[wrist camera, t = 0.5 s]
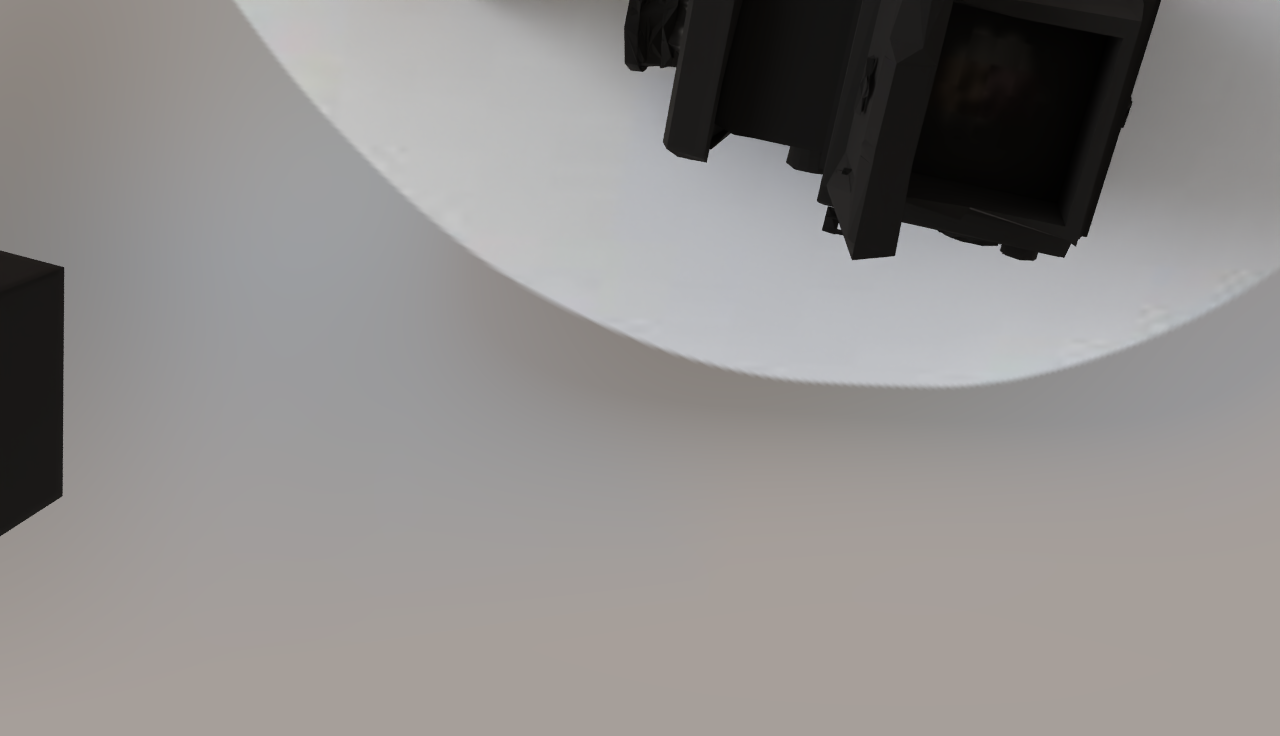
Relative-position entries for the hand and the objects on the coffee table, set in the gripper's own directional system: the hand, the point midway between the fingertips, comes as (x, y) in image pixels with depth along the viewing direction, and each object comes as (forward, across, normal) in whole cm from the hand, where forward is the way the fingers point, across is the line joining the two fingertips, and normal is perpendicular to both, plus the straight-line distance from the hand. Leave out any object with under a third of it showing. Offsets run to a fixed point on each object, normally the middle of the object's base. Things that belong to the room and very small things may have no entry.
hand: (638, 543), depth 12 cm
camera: (+35, 0, +2) cm, 35 cm away
